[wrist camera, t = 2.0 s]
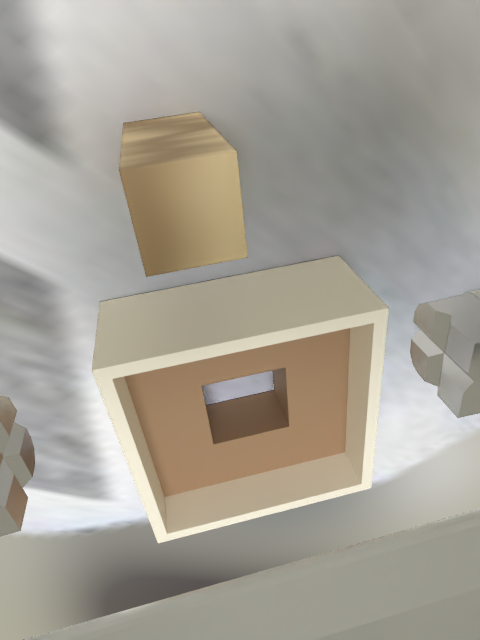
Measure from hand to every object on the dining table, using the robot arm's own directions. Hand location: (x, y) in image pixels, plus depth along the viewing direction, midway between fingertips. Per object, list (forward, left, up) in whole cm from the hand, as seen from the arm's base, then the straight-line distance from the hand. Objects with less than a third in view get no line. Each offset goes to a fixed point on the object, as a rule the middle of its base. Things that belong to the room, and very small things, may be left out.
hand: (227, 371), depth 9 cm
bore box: (-2, +16, -19) cm, 25 cm away
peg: (0, 0, -19) cm, 19 cm away
